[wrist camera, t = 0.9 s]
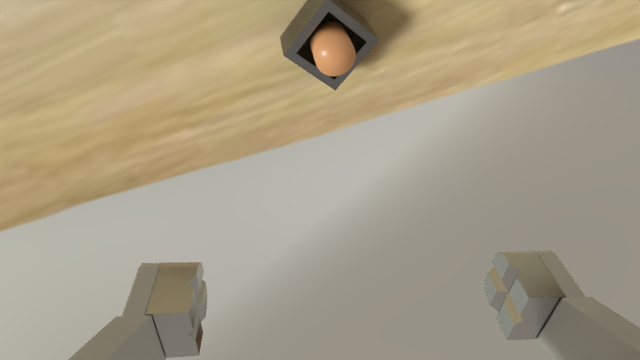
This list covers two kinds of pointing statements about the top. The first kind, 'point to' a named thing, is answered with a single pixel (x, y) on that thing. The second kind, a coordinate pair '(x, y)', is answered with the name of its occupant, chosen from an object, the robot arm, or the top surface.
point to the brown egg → (332, 49)
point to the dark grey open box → (305, 24)
